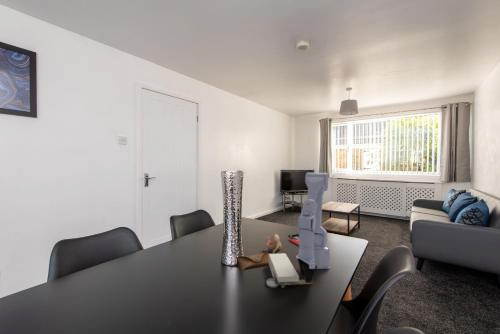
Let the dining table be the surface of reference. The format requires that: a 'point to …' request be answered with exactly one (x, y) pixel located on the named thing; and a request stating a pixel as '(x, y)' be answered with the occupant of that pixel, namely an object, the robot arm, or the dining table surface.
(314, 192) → the robot arm
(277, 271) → the cream cabinet
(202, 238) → the dining table surface
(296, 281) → the wood scraper
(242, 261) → the sunglasses case
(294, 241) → the red board with handle
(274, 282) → the steel puck
